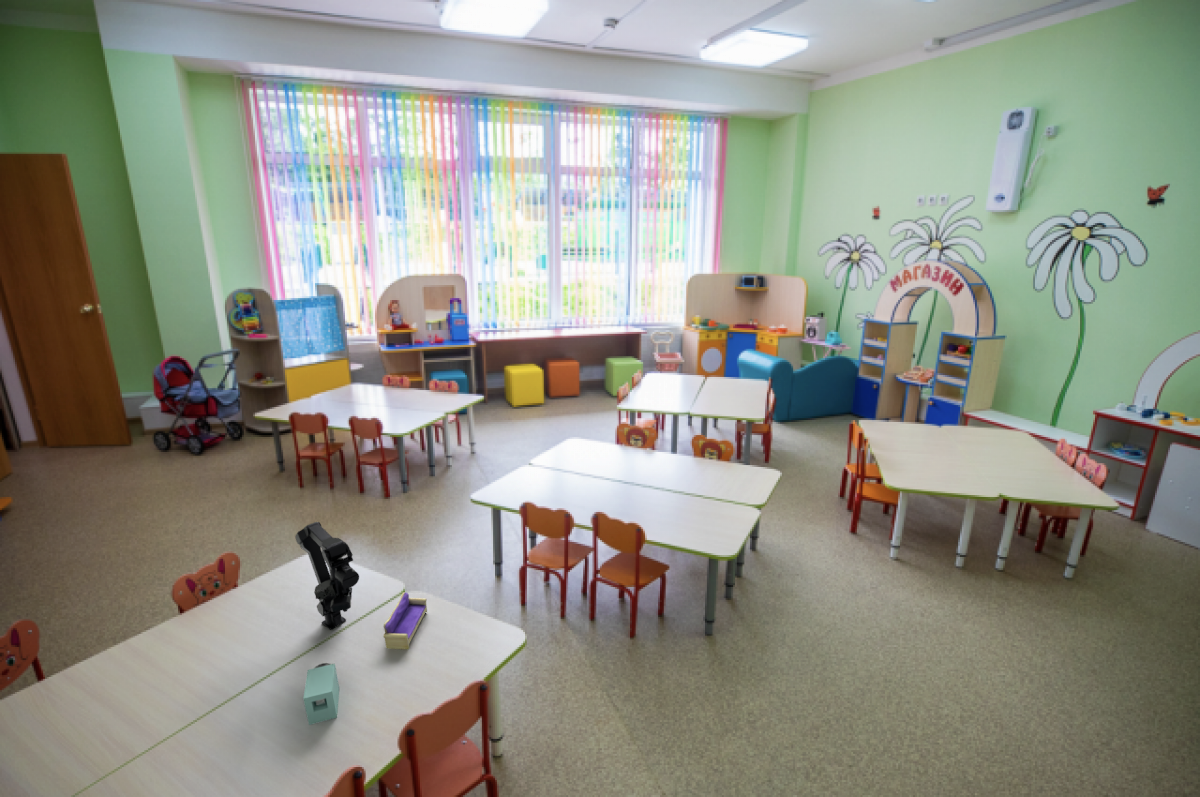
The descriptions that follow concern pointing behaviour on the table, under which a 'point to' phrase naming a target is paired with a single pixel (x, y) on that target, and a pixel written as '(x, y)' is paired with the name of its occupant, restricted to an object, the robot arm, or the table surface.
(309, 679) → the block
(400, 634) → the toy sofa
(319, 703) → the plunger
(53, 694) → the table surface
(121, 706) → the table surface
